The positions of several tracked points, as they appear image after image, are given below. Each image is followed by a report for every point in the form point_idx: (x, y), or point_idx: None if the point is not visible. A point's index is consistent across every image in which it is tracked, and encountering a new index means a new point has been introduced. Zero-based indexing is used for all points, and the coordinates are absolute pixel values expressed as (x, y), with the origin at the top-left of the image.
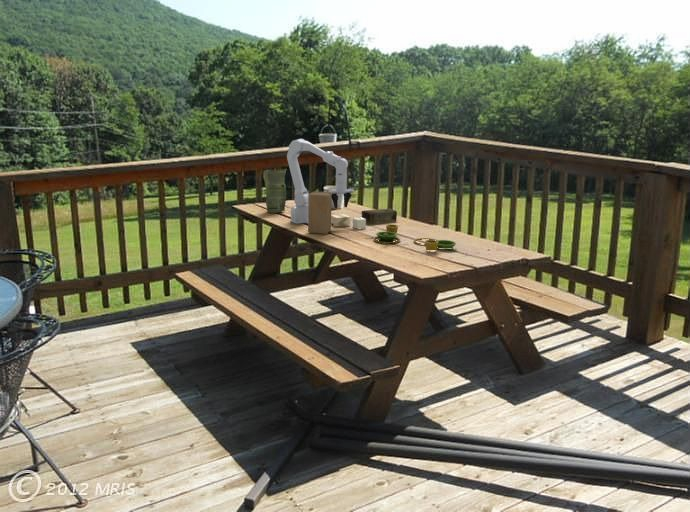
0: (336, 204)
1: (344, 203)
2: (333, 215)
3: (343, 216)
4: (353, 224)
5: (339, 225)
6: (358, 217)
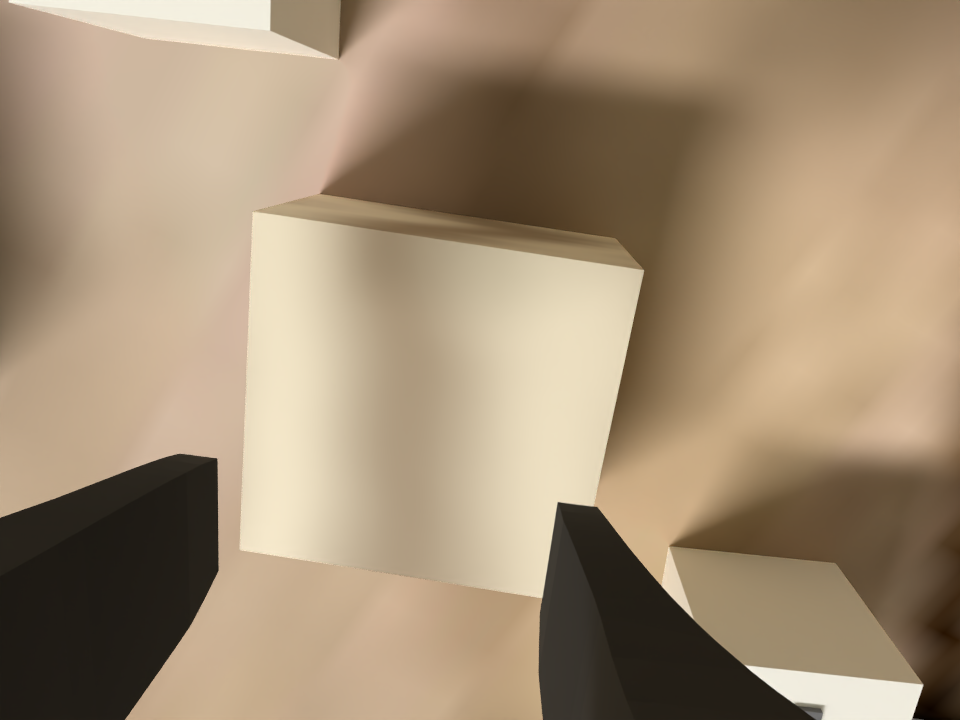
0: (623, 557)
1: (160, 637)
2: (541, 540)
3: (390, 341)
4: (321, 15)
5: (555, 231)
6: (96, 12)
